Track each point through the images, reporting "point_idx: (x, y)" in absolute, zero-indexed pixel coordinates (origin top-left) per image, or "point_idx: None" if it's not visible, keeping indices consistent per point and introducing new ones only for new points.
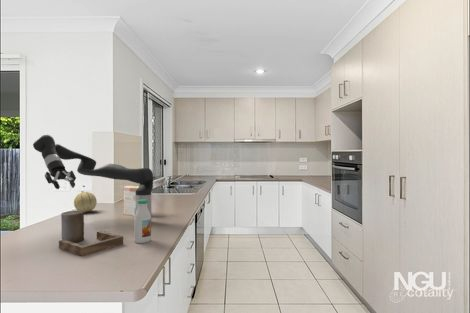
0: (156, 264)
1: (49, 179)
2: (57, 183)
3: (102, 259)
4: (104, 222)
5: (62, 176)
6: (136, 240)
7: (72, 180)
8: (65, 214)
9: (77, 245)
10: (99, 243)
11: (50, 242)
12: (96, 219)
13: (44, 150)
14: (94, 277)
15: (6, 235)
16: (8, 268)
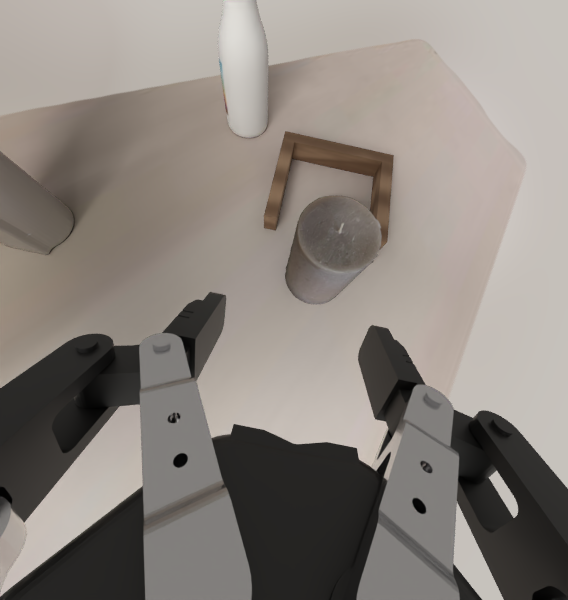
0: (349, 52)
1: (522, 443)
2: (395, 353)
3: (376, 129)
4: None
5: (286, 448)
6: (267, 121)
7: (181, 329)
8: (379, 227)
9: (388, 173)
10: (350, 147)
11: (356, 318)
12: None
13: None
14: (431, 97)
15: None
16: (495, 238)
